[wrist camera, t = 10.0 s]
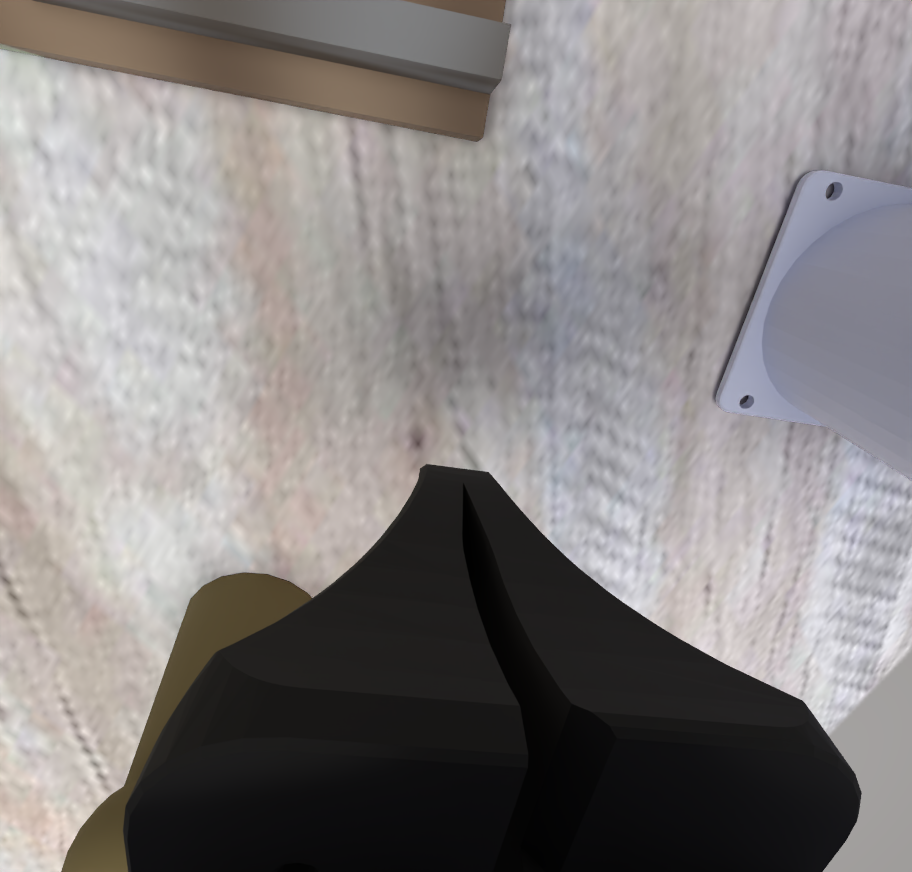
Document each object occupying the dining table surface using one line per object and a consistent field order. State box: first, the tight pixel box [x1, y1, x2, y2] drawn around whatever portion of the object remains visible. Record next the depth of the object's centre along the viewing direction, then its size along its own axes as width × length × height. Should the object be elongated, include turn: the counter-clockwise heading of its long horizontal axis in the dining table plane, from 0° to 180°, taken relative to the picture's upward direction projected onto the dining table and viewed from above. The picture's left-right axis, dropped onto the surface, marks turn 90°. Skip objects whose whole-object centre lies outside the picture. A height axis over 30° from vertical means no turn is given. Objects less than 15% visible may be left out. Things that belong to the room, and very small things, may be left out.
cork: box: [61, 573, 312, 872], centre depth 19 cm, size 6×6×11 cm
